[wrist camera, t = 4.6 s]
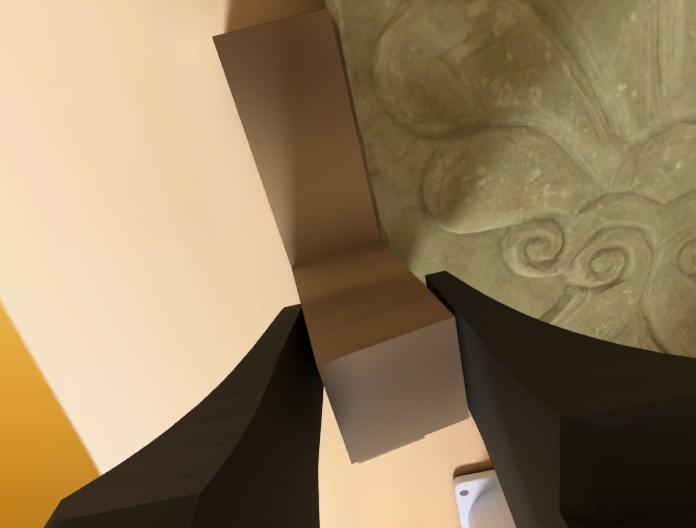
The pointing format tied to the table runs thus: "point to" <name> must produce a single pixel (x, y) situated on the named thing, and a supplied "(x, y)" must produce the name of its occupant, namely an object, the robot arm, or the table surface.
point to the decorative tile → (536, 153)
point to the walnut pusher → (341, 241)
